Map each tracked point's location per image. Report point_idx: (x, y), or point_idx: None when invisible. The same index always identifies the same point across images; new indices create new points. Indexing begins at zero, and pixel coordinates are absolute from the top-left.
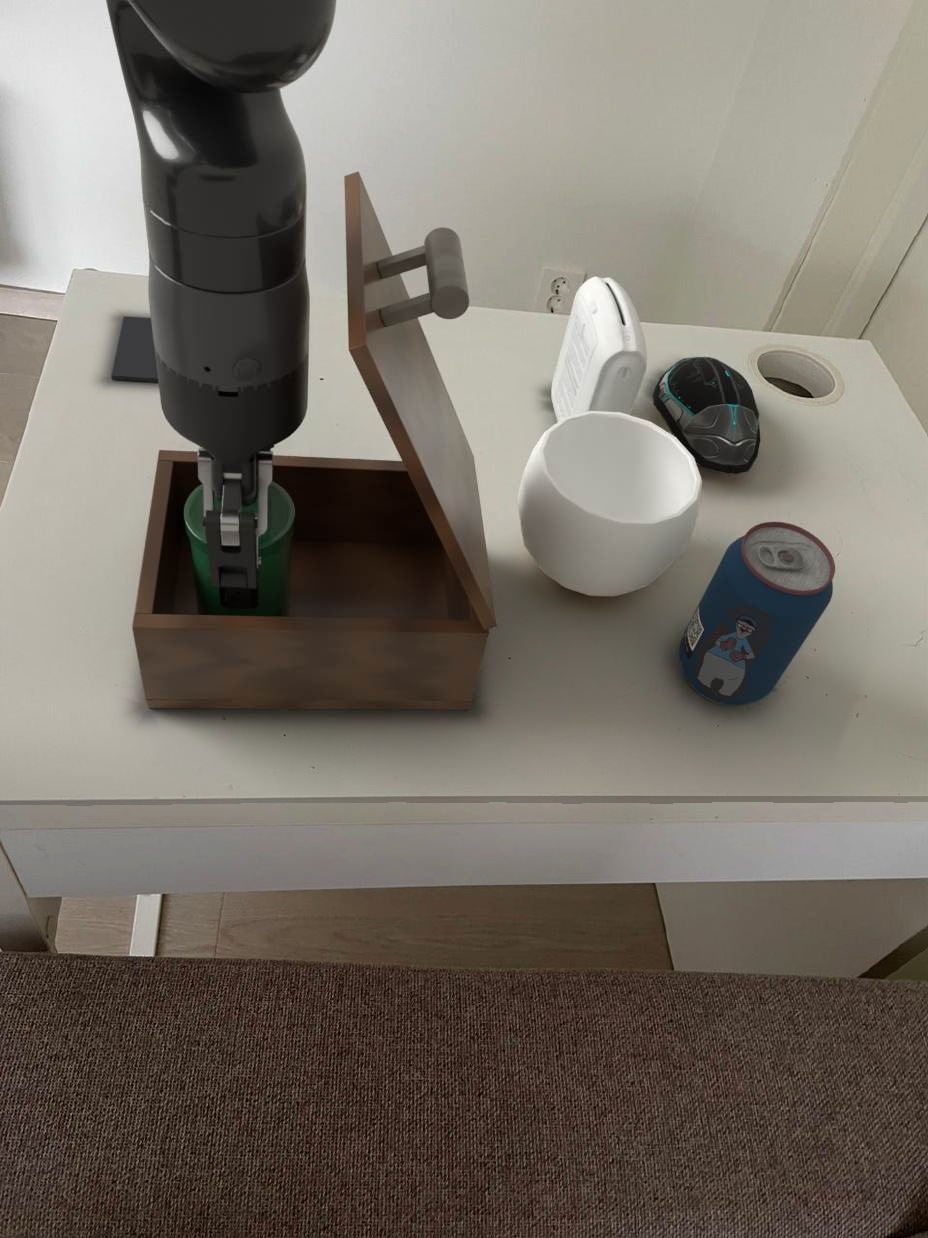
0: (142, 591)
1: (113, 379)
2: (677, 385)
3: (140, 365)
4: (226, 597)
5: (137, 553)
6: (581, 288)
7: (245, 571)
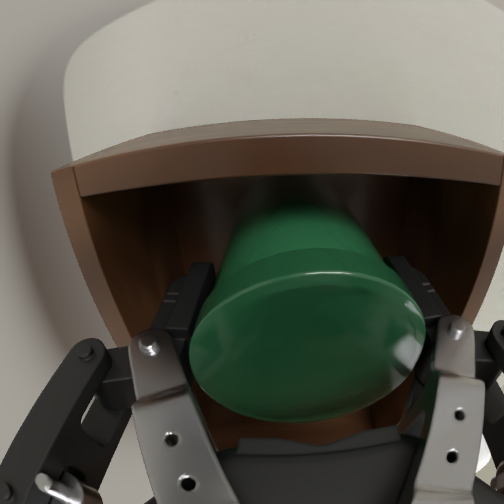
0: (118, 164)
1: None
2: None
3: None
4: (165, 298)
5: (389, 86)
6: (488, 455)
7: (104, 406)
